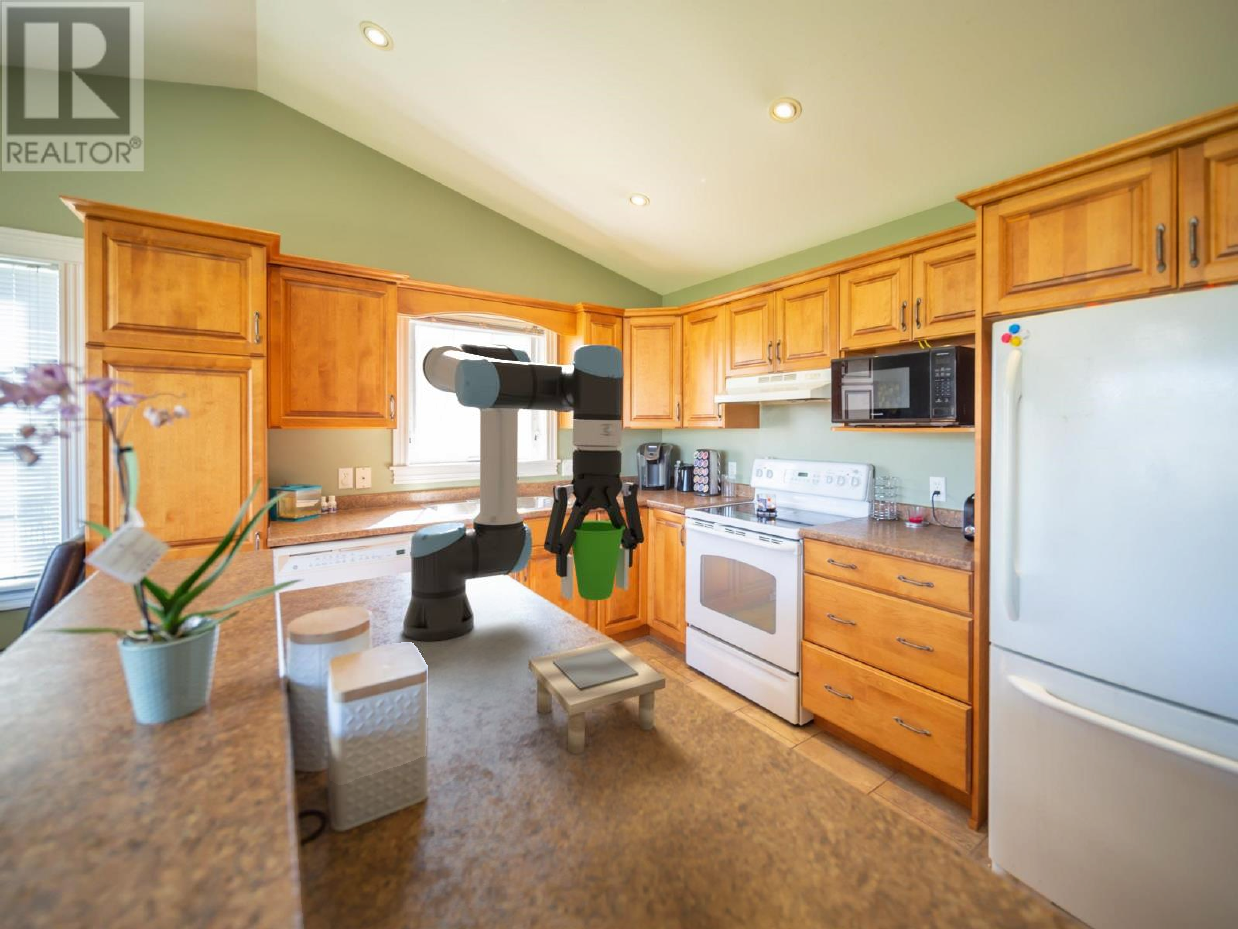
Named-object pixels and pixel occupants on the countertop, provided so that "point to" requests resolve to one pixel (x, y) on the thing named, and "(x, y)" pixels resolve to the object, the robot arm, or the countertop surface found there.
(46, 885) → the countertop surface
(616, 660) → the stool
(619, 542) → the cup
